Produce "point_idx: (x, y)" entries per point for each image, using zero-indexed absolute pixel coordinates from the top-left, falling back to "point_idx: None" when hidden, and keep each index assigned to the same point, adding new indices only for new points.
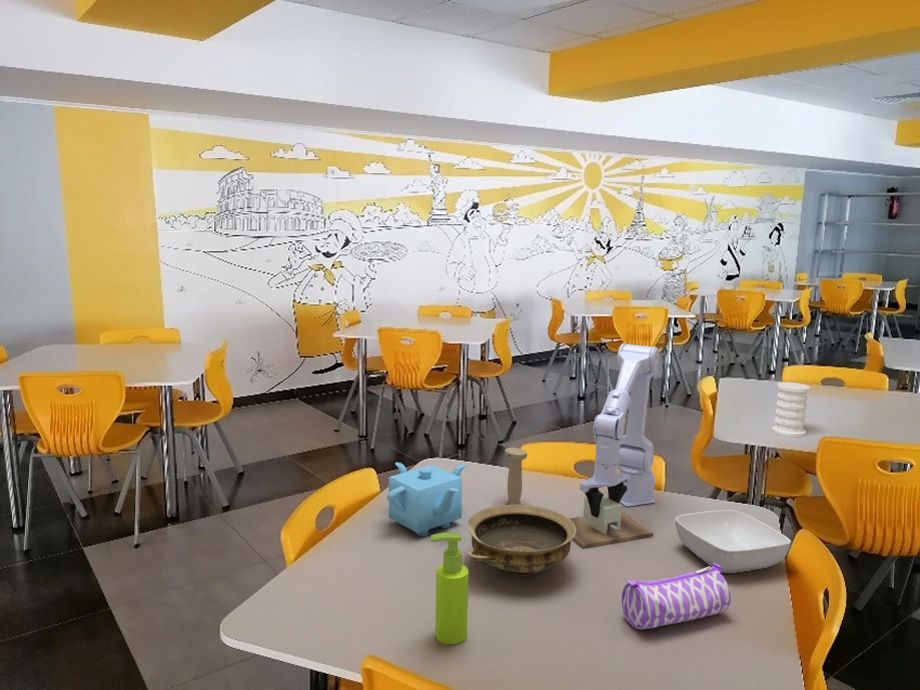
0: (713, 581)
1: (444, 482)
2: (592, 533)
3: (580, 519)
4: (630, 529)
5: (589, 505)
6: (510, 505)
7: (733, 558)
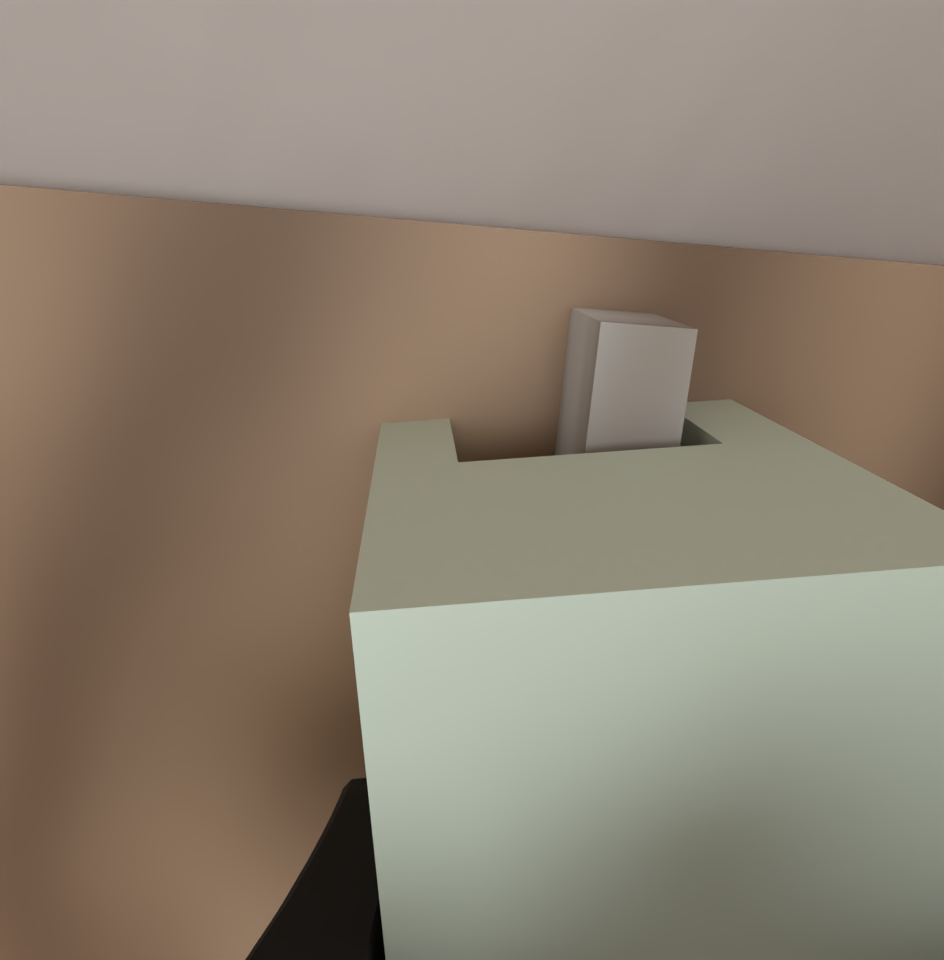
0: None
1: None
2: (279, 805)
3: (390, 328)
4: None
5: (278, 918)
6: None
7: None
